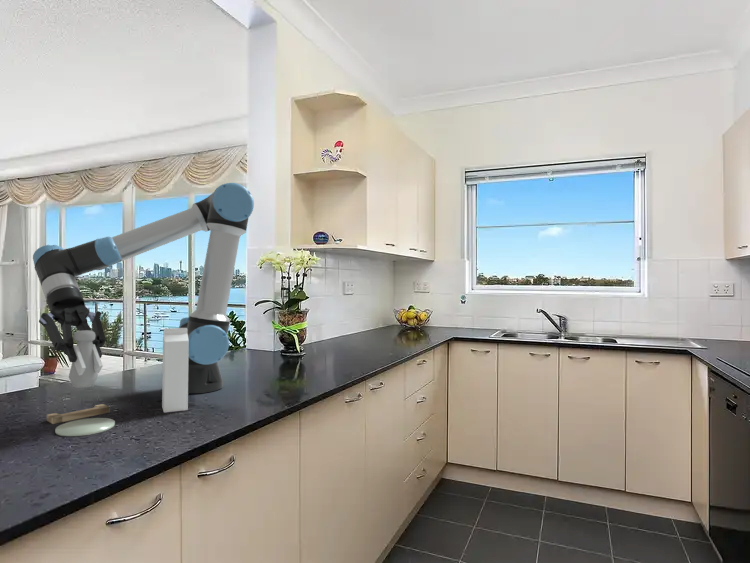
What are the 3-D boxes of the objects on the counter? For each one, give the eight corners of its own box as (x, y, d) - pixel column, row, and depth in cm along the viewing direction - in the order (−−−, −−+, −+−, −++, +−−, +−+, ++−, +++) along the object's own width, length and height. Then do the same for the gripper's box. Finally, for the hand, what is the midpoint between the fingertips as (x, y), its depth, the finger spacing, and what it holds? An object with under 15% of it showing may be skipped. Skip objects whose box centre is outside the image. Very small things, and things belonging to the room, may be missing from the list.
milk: (187, 410, 128) (189, 329, 127) (163, 413, 125) (164, 329, 125) (185, 404, 133) (186, 326, 133) (161, 407, 130) (163, 327, 130)
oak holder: (46, 420, 116) (46, 414, 116) (102, 409, 127) (102, 404, 127) (53, 424, 114) (53, 417, 114) (109, 412, 124) (109, 406, 124)
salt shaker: (66, 389, 107) (68, 332, 107) (69, 384, 112) (71, 329, 112) (96, 387, 110) (98, 331, 110) (98, 382, 115) (99, 329, 115)
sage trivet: (122, 419, 118) (122, 417, 118) (102, 435, 106) (102, 432, 106) (70, 420, 117) (70, 418, 117) (44, 437, 105) (44, 434, 105)
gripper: (92, 305, 127) (120, 375, 117) (21, 306, 114) (46, 385, 104) (102, 285, 124) (131, 356, 114) (30, 285, 111) (56, 364, 101)
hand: (90, 370), depth 109 cm, fingers closed on salt shaker, 3 cm apart
